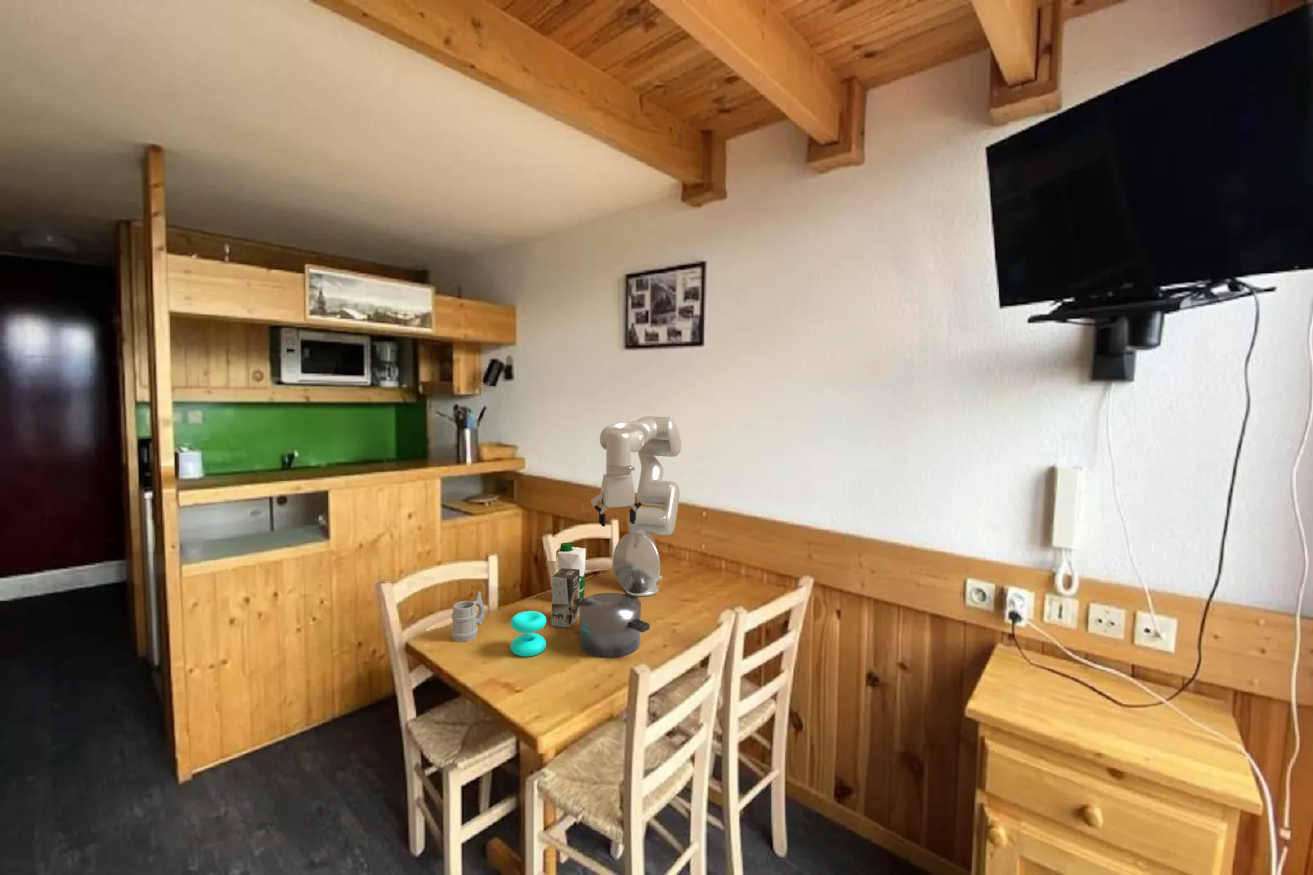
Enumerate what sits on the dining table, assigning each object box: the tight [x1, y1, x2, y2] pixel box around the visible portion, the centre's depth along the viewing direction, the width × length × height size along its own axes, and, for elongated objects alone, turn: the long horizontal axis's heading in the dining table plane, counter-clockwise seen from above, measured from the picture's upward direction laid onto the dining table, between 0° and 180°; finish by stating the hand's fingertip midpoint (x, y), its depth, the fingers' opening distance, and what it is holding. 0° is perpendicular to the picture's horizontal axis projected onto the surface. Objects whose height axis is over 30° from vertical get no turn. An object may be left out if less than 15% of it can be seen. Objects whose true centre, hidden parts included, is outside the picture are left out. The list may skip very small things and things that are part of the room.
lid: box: [612, 532, 661, 594], centre depth 173 cm, size 18×18×3 cm
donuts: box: [510, 610, 547, 657], centre depth 160 cm, size 10×10×10 cm
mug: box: [450, 590, 486, 642], centre depth 169 cm, size 8×12×12 cm, turn 152°
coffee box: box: [551, 568, 580, 628], centre depth 180 cm, size 9×6×16 cm
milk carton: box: [557, 542, 587, 598], centre depth 197 cm, size 9×9×20 cm
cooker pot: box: [575, 592, 651, 659], centre depth 166 cm, size 18×28×12 cm, turn 50°
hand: (617, 524), depth 176 cm, fingers open, 9 cm apart
